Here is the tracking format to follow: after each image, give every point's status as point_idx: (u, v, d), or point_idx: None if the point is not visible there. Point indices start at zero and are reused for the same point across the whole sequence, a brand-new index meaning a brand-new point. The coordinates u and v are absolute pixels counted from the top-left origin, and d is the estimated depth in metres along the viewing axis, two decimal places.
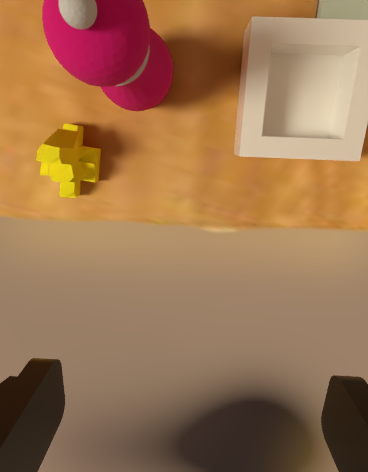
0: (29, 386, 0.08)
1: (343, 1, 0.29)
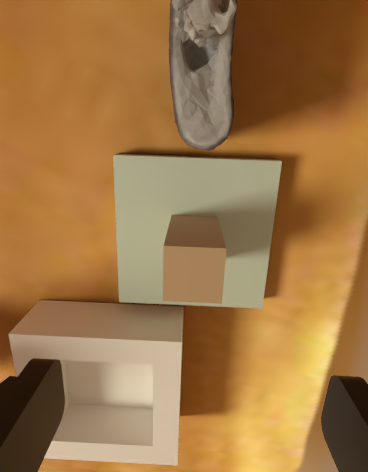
0: (29, 386, 0.08)
1: (144, 287, 0.23)
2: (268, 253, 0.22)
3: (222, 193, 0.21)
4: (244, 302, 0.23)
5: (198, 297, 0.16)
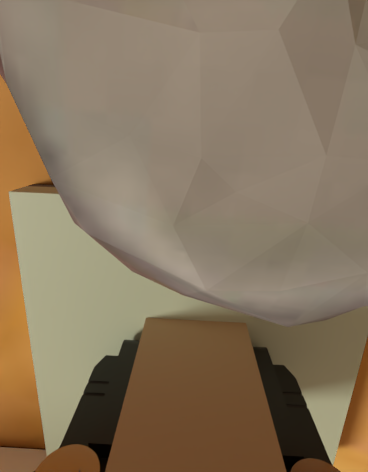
0: (132, 362, 0.09)
1: None
2: (350, 392, 0.10)
3: None
4: None
5: None
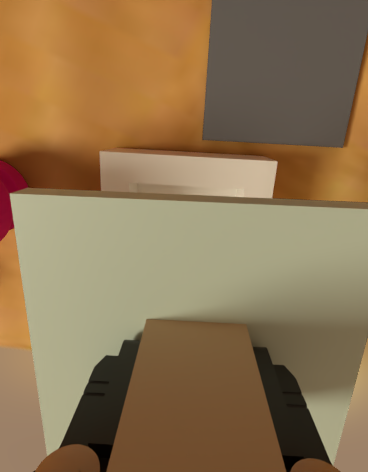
0: (132, 362, 0.09)
1: None
2: (350, 393, 0.10)
3: (258, 277, 0.09)
4: None
5: None
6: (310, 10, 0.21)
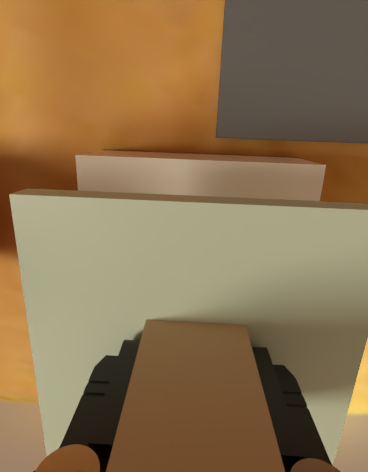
0: (132, 362, 0.09)
1: None
2: (349, 394, 0.10)
3: (258, 278, 0.09)
4: None
5: None
6: None
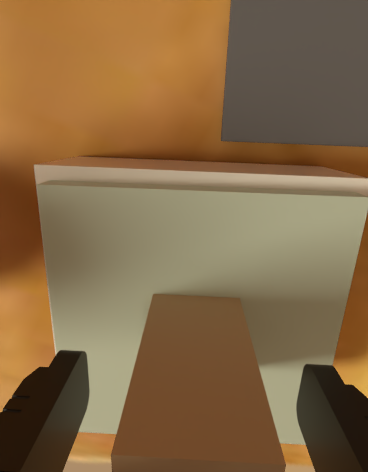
0: (60, 375, 0.08)
1: (107, 409, 0.13)
2: (331, 360, 0.12)
3: (250, 256, 0.11)
4: (283, 434, 0.13)
5: None
6: None
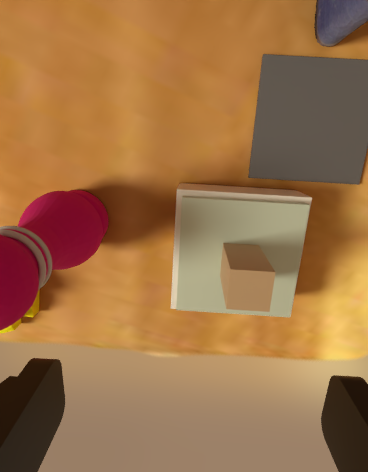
0: (29, 386, 0.08)
1: (197, 298, 0.29)
2: (296, 273, 0.28)
3: (263, 227, 0.27)
4: (276, 311, 0.29)
5: (252, 306, 0.23)
6: (334, 84, 0.28)
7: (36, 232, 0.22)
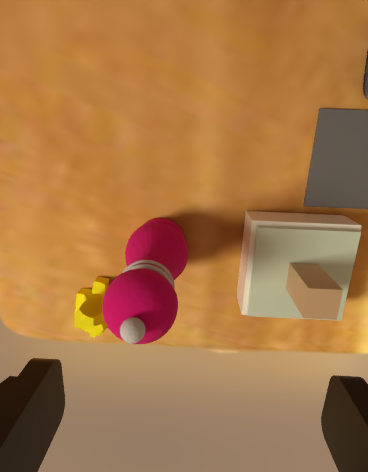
0: (29, 386, 0.08)
1: (265, 306, 0.36)
2: (348, 286, 0.35)
3: (322, 250, 0.34)
4: None
5: (323, 315, 0.29)
6: None
7: (159, 263, 0.28)
